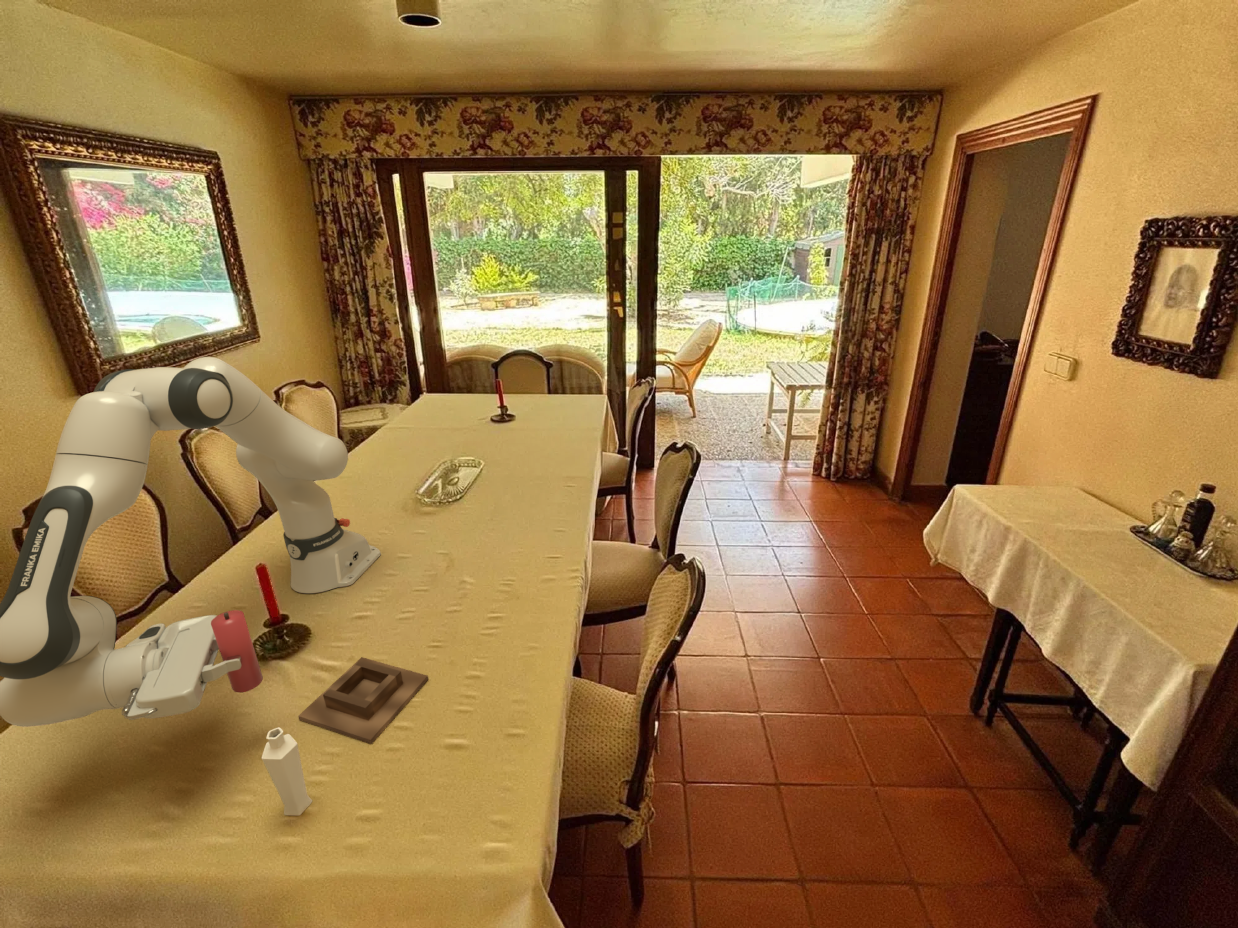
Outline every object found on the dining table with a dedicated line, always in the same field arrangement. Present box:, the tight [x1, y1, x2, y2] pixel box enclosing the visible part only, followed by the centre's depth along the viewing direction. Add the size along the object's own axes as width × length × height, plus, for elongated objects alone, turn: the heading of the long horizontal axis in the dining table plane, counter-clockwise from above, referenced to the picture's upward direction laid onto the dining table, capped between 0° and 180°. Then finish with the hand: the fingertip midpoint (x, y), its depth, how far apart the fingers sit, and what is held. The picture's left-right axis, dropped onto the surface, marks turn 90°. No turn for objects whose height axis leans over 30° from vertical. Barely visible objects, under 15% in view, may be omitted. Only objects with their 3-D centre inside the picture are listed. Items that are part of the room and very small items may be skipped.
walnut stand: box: [297, 656, 429, 745], centre depth 108 cm, size 16×16×4 cm
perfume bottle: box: [261, 726, 313, 816], centre depth 86 cm, size 5×4×15 cm
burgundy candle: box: [211, 609, 264, 693], centre depth 94 cm, size 4×4×14 cm
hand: (244, 649), depth 94 cm, fingers closed on burgundy candle, 4 cm apart
